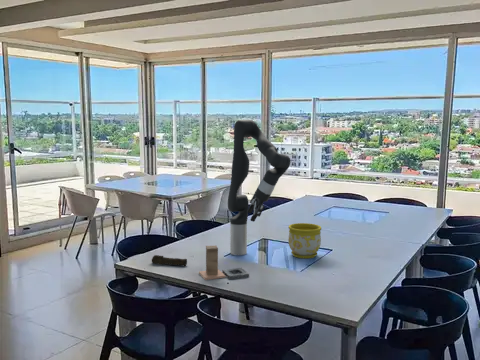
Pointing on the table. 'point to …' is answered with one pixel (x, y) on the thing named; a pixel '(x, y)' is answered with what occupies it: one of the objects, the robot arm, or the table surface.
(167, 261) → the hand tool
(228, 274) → the hole plate
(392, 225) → the table surface
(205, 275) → the tile
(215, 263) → the walnut block
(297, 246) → the flowerpot
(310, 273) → the table surface
